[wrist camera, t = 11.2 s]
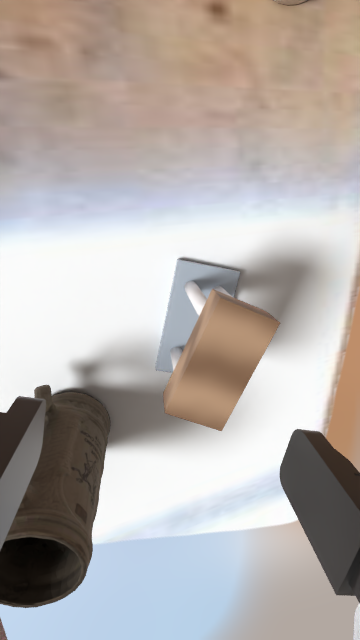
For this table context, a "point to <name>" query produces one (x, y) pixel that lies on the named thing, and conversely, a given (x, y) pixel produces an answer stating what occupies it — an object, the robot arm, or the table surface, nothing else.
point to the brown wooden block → (218, 360)
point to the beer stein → (57, 504)
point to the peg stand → (189, 305)
